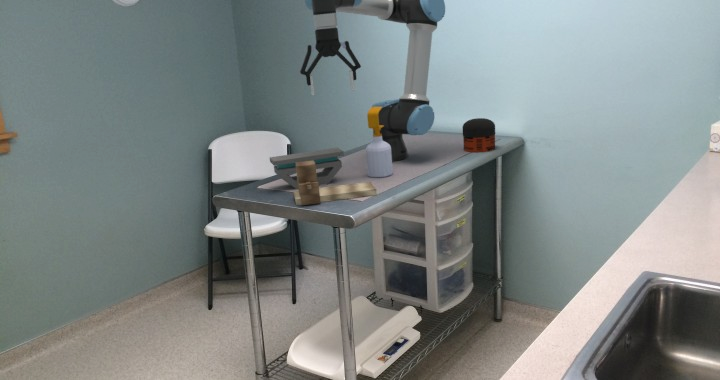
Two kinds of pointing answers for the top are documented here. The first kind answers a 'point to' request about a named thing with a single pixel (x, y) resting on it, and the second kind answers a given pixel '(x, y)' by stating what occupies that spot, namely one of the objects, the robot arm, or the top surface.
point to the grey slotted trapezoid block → (320, 157)
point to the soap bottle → (378, 148)
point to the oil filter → (479, 135)
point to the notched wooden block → (307, 182)
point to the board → (342, 192)
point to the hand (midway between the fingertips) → (333, 92)
